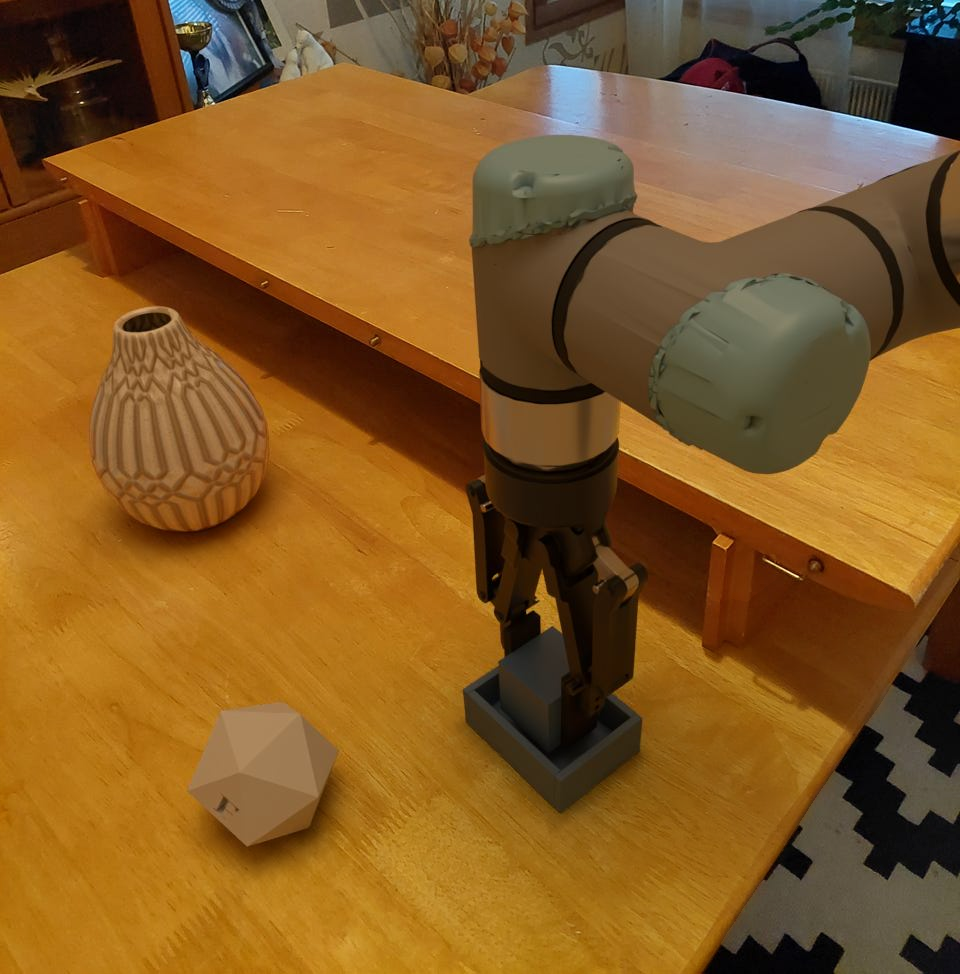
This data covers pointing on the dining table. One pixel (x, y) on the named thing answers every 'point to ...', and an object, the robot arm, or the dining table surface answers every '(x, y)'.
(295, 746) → the die
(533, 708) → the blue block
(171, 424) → the vase
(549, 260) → the robot arm
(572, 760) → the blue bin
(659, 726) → the dining table surface
